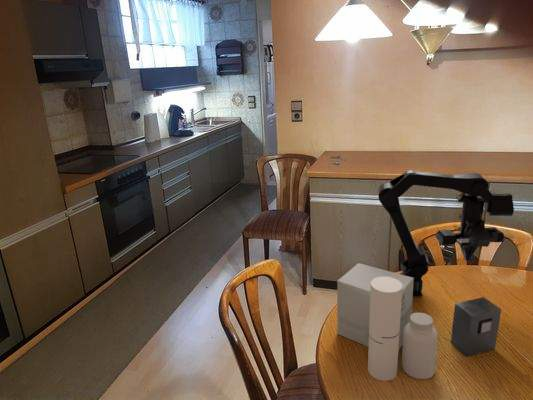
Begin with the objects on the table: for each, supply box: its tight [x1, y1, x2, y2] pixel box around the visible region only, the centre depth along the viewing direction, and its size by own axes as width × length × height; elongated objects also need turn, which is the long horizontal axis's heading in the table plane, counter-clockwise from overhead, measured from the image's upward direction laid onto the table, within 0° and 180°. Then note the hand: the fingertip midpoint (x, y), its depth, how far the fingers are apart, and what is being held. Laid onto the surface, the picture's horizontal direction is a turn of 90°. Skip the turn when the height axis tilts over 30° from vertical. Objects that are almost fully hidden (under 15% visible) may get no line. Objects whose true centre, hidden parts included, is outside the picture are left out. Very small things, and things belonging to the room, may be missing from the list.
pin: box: [478, 319, 492, 333], centre depth 105 cm, size 8×5×5 cm, turn 15°
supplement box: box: [336, 262, 414, 351], centre depth 111 cm, size 17×13×18 cm
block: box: [450, 296, 502, 358], centre depth 105 cm, size 6×9×12 cm, turn 105°
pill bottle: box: [401, 312, 439, 380], centre depth 98 cm, size 8×8×15 cm
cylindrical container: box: [367, 277, 402, 382], centre depth 96 cm, size 7×7×25 cm
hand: (466, 260), depth 125 cm, fingers closed
